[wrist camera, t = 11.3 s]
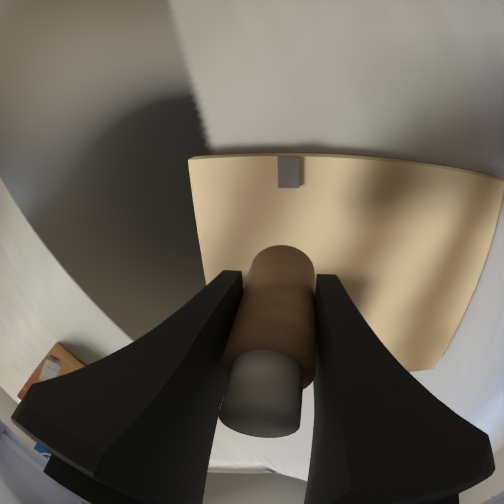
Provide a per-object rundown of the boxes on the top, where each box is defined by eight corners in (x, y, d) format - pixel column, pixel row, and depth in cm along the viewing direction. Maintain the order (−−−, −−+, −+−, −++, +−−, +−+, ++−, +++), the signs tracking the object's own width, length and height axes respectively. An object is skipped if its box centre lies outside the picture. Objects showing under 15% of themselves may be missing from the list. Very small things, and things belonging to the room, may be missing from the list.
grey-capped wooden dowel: (316, 246, 10) (321, 401, 4) (312, 299, 11) (307, 444, 6) (248, 244, 10) (195, 389, 5) (252, 296, 11) (215, 434, 6)
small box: (103, 376, 30) (68, 438, 21) (97, 387, 32) (67, 441, 23) (56, 340, 28) (15, 396, 19) (55, 355, 31) (20, 405, 22)
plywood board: (496, 176, 11) (507, 183, 10) (431, 360, 19) (434, 371, 18) (194, 156, 14) (185, 161, 13) (225, 357, 22) (222, 369, 21)
